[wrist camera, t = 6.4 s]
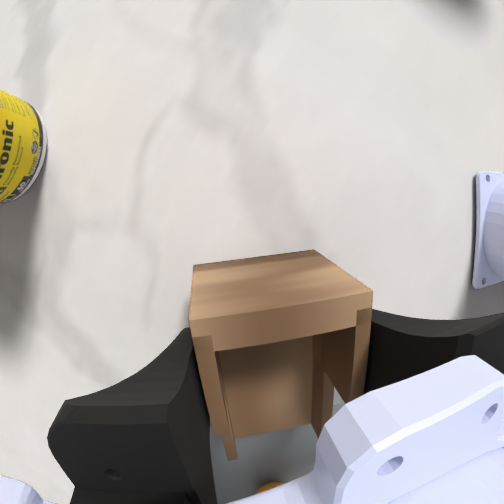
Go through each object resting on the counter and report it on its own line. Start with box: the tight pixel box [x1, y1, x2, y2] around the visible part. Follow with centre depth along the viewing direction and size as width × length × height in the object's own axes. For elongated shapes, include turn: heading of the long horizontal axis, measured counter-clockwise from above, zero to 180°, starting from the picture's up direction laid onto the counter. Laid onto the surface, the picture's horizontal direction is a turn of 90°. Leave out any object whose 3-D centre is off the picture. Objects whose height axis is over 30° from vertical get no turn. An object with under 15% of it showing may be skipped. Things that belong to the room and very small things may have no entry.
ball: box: [256, 482, 285, 494], centre depth 16 cm, size 3×3×3 cm
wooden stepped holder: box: [189, 250, 373, 461], centre depth 11 cm, size 5×9×5 cm, turn 6°
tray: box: [210, 388, 345, 504], centre depth 17 cm, size 18×14×4 cm
